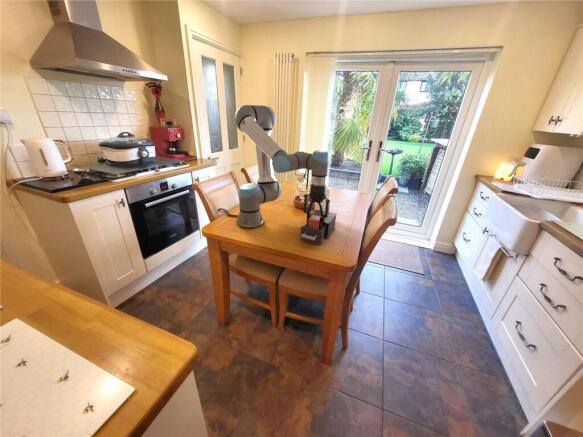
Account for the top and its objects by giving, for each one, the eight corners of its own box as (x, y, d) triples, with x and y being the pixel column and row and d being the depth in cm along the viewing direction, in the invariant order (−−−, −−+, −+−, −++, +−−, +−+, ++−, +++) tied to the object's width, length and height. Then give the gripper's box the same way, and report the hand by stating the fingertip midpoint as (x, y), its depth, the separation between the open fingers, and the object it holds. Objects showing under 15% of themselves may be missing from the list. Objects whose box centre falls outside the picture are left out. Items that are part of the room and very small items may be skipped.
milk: (320, 220, 148) (323, 187, 138) (313, 217, 152) (316, 184, 143) (327, 218, 151) (330, 185, 142) (320, 214, 156) (323, 183, 146)
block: (307, 228, 121) (308, 218, 119) (311, 224, 126) (312, 214, 123) (317, 230, 119) (318, 220, 117) (321, 226, 124) (322, 217, 121)
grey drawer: (317, 249, 116) (319, 235, 112) (296, 243, 120) (297, 230, 116) (328, 234, 130) (330, 221, 127) (309, 229, 134) (310, 217, 131)
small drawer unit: (327, 239, 127) (328, 223, 123) (305, 233, 132) (306, 218, 127) (334, 228, 139) (336, 213, 135) (314, 223, 144) (315, 209, 139)
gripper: (297, 183, 113) (295, 225, 123) (334, 189, 106) (329, 234, 116) (303, 179, 119) (301, 220, 129) (339, 185, 112) (333, 228, 122)
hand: (314, 226), depth 122 cm, fingers closed on block, 5 cm apart
